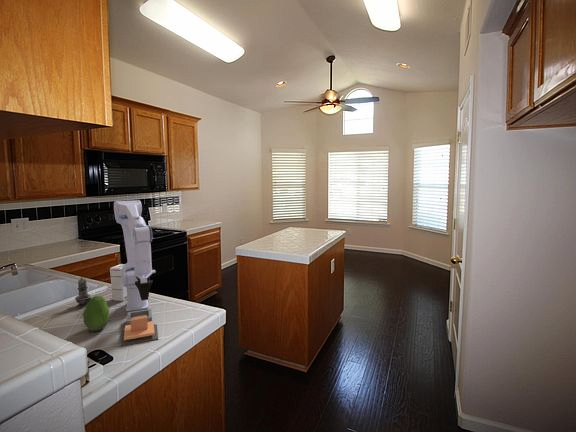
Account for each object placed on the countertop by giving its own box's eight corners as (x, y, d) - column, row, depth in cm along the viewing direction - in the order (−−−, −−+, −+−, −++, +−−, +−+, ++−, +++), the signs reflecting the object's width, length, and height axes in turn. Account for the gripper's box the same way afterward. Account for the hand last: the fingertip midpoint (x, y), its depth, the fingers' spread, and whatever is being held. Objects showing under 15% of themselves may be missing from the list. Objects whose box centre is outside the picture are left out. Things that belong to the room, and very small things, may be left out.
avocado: (115, 324, 115) (113, 292, 114) (99, 335, 108) (97, 301, 106) (95, 323, 117) (92, 291, 115) (78, 333, 109) (75, 299, 107)
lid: (125, 330, 110) (124, 314, 110) (153, 325, 114) (153, 310, 113) (124, 343, 102) (123, 326, 102) (154, 337, 106) (154, 320, 105)
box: (128, 320, 119) (127, 312, 119) (151, 316, 123) (151, 308, 122) (127, 329, 112) (126, 321, 112) (152, 325, 115) (151, 317, 115)
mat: (122, 331, 111) (122, 329, 111) (156, 325, 115) (156, 324, 115) (120, 346, 101) (120, 345, 101) (158, 339, 106) (158, 338, 105)
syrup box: (123, 301, 136) (121, 268, 134) (111, 300, 137) (109, 267, 136) (132, 296, 142) (131, 264, 140) (121, 295, 143) (119, 263, 141)
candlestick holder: (81, 302, 135) (79, 274, 134) (95, 302, 135) (93, 274, 133) (72, 308, 129) (69, 279, 128) (86, 308, 129) (84, 279, 128)
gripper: (155, 263, 111) (157, 301, 113) (154, 254, 124) (155, 288, 126) (132, 266, 108) (135, 304, 110) (133, 256, 121) (135, 290, 123)
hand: (144, 296), depth 118 cm, fingers open, 7 cm apart
